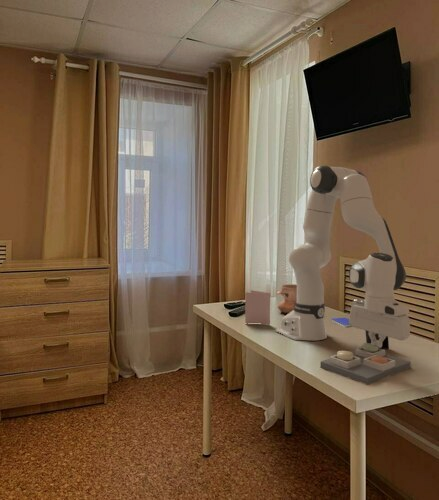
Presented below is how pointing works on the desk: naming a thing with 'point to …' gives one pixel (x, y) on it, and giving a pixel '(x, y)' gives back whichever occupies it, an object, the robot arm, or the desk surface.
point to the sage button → (370, 348)
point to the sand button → (345, 355)
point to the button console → (366, 366)
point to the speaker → (384, 344)
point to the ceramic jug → (288, 297)
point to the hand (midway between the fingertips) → (376, 346)
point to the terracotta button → (379, 359)
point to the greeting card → (257, 307)
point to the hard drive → (342, 321)
